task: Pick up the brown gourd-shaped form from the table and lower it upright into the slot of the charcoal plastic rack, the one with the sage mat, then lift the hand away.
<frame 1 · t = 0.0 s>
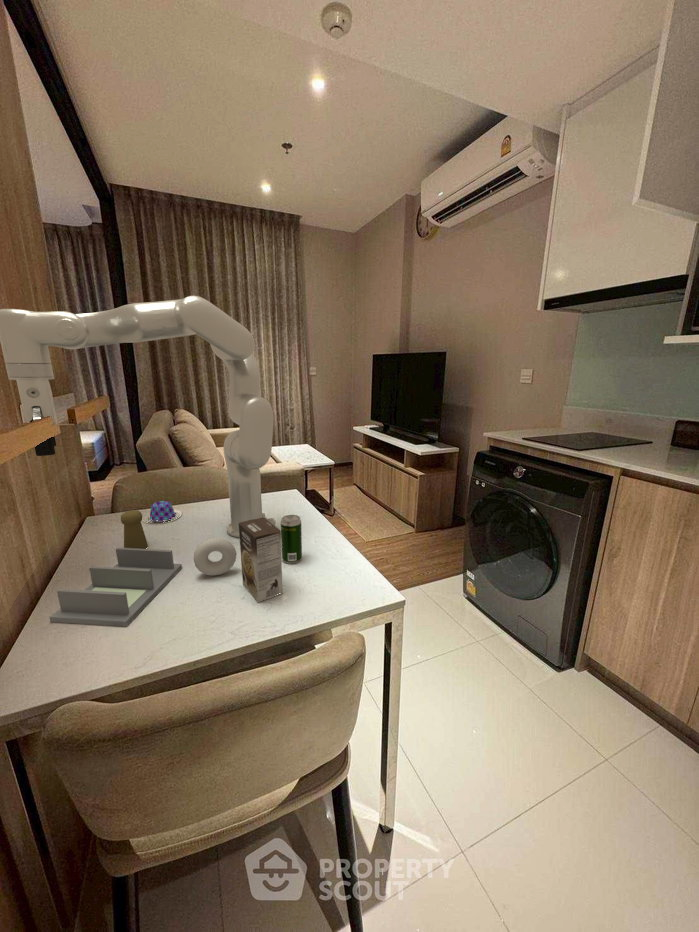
hand: (47, 450, 83), 31 cm above the table, tool pointing down, fingers open, 9 cm apart
beer can: (292, 560, 100), on the table
brown gourd-shaped form: (136, 548, 105), on the table
donut: (217, 575, 93), on the table
coffee box: (262, 589, 87), on the table
purple patterned dome: (163, 518, 126), on the table
rack: (124, 591, 85), on the table
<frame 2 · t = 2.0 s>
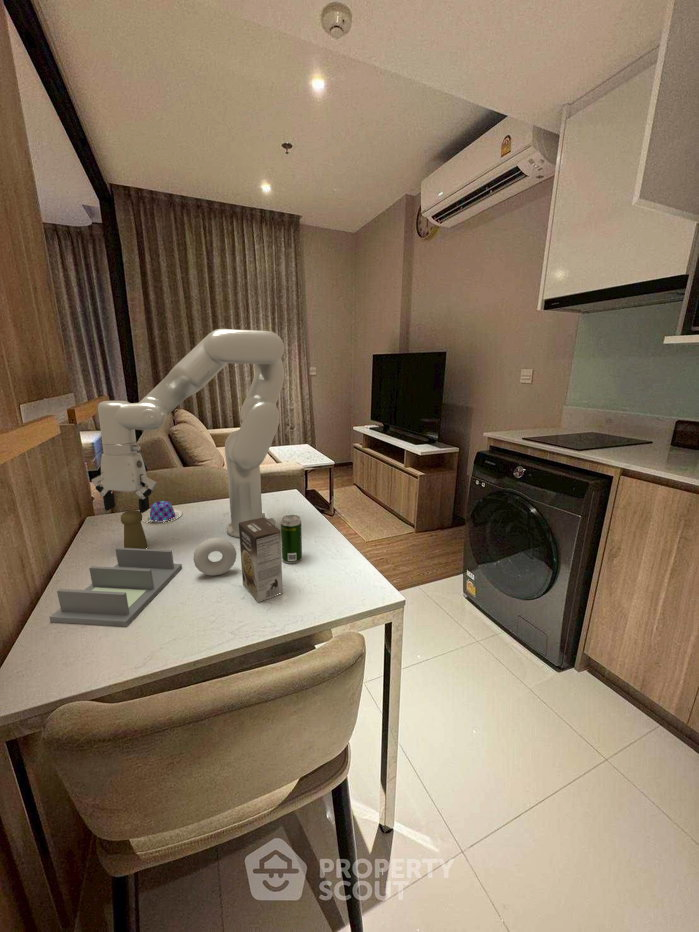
hand: (127, 509, 101), 12 cm above the table, tool pointing down, fingers open, 9 cm apart
nothing on the table moved.
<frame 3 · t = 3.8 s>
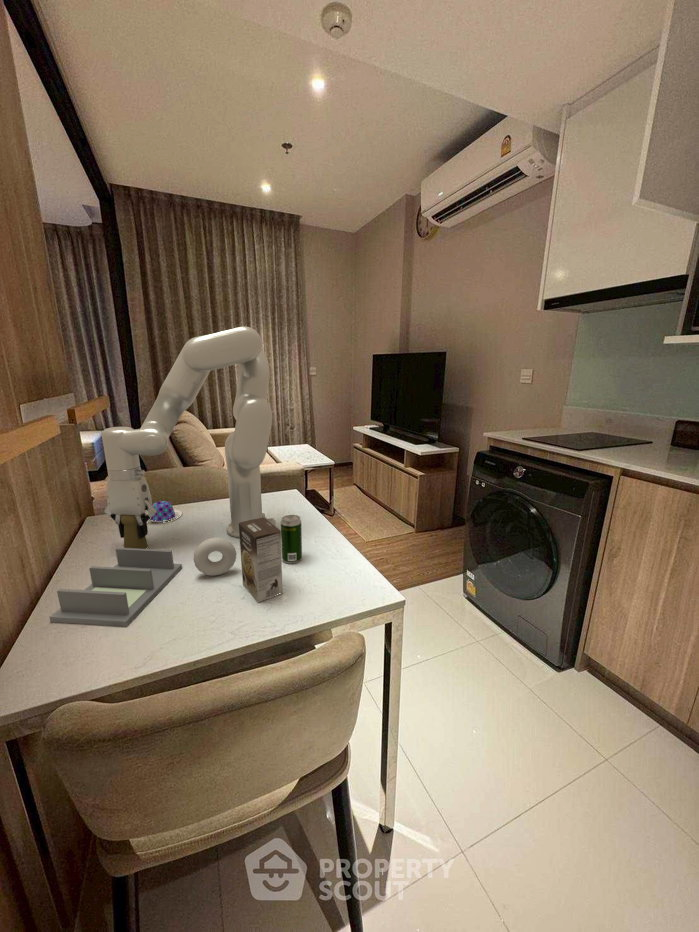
hand: (134, 535, 104), 4 cm above the table, tool pointing down, fingers closed on brown gourd-shaped form, 4 cm apart
brown gourd-shaped form: (136, 548, 105), on the table, touching gripper
everything else where it was.
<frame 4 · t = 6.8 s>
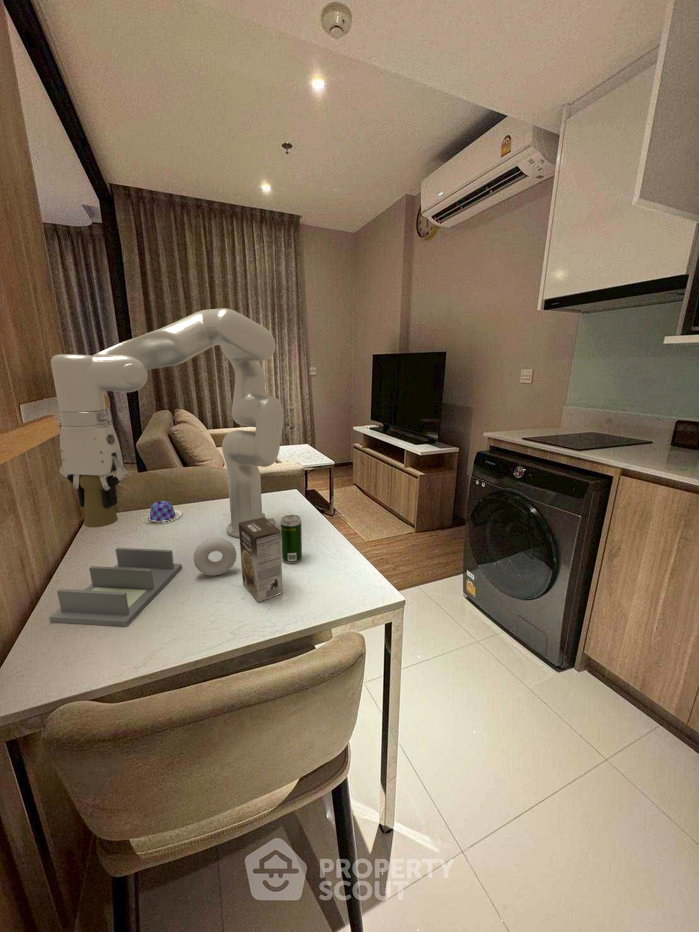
hand: (99, 504, 78), 22 cm above the table, tool pointing down, fingers closed on brown gourd-shaped form, 4 cm apart
brown gourd-shaped form: (101, 522, 79), point 18 cm above the table, touching gripper
everything else where it was.
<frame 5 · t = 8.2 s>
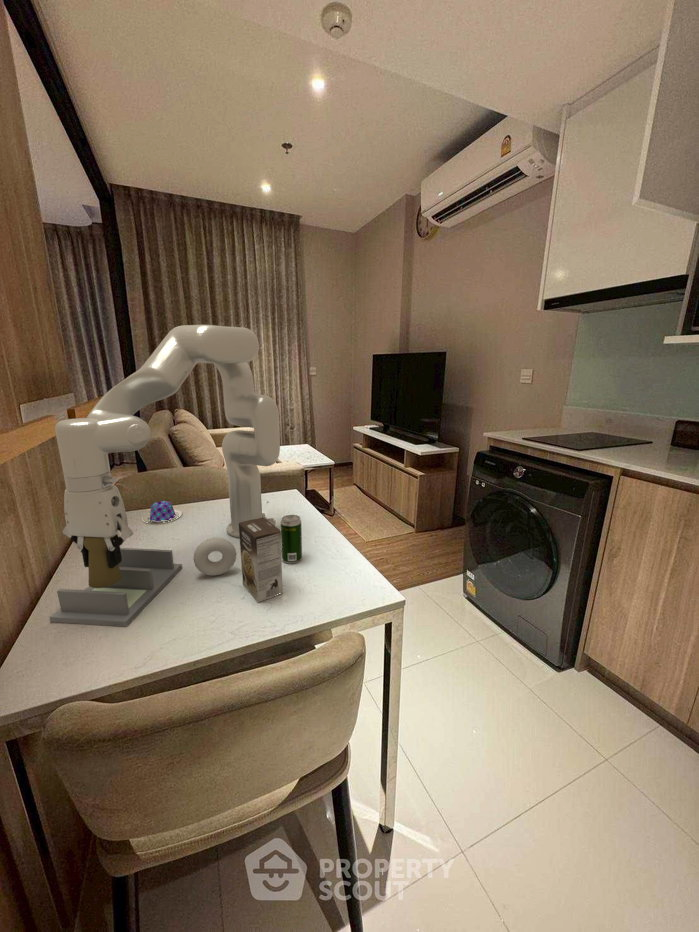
hand: (103, 563, 78), 10 cm above the table, tool pointing down, fingers closed on brown gourd-shaped form, 4 cm apart
brown gourd-shaped form: (105, 580, 79), point 6 cm above the table, touching gripper
everything else where it was.
when the fingers open (6 cm above the table, at t = 9.7 s): brown gourd-shaped form drops 1 cm, resting on rack.
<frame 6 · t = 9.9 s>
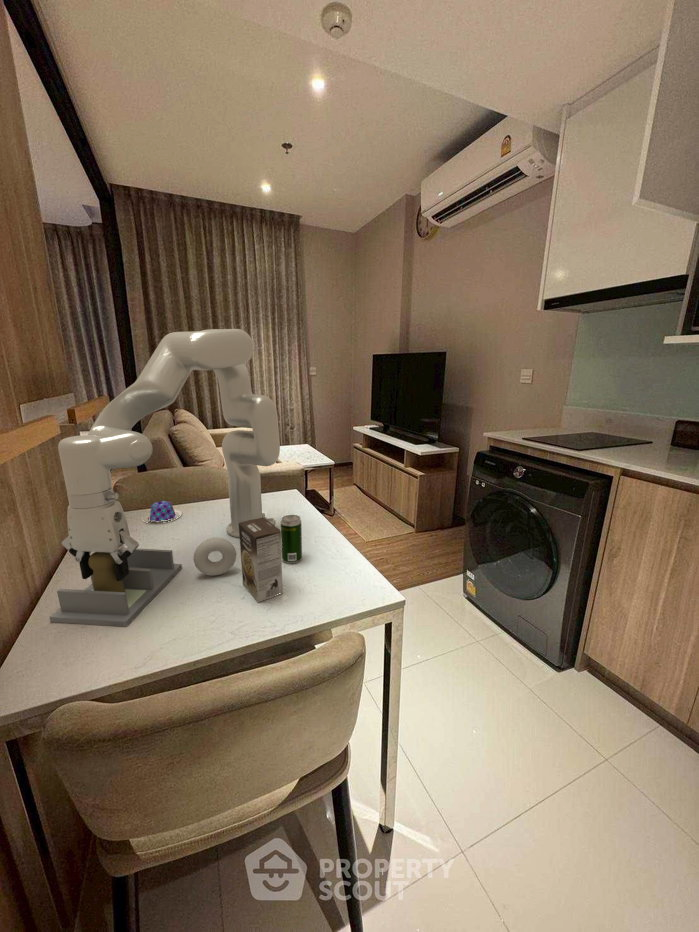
hand: (106, 575, 79), 7 cm above the table, tool pointing down, fingers open, 6 cm apart
brown gourd-shaped form: (110, 598, 80), point 1 cm above the table, touching rack
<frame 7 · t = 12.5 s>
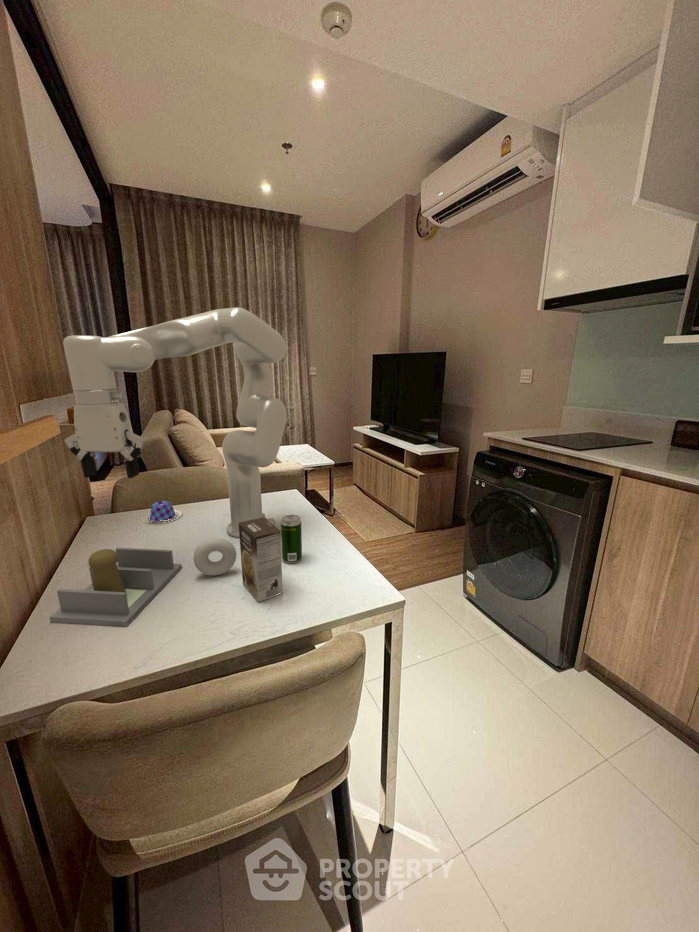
hand: (112, 476, 82), 26 cm above the table, tool pointing down, fingers open, 9 cm apart
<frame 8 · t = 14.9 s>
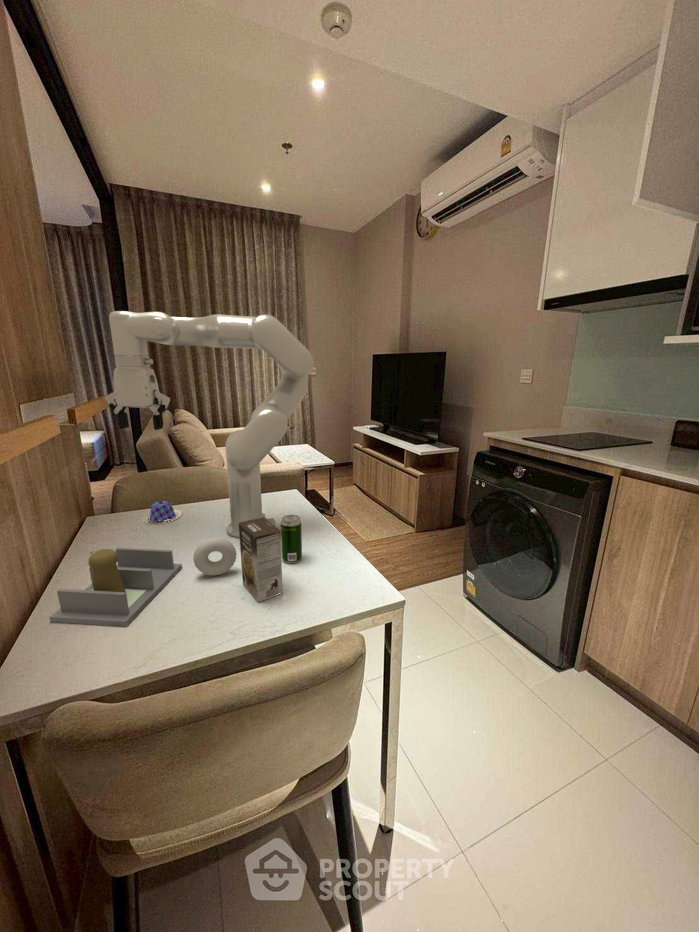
hand: (141, 428, 100), 33 cm above the table, tool pointing down, fingers open, 9 cm apart
at the end: brown gourd-shaped form inside the target area on the rack (0.1 cm from its centre), point 1.2 cm above the rack's base; brown gourd-shaped form tilted 0°; the gripper is holding nothing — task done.
